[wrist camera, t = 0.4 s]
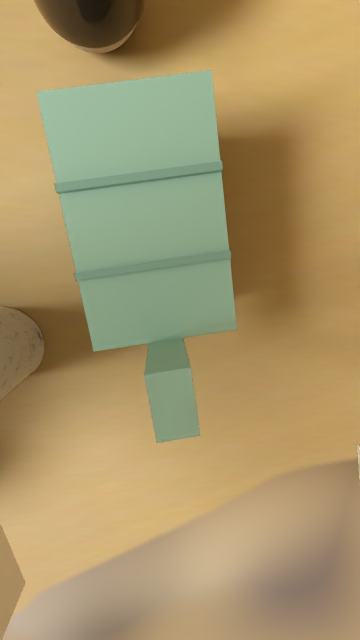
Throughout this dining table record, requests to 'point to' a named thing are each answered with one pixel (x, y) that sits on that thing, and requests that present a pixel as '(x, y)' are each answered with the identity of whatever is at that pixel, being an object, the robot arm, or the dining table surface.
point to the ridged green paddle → (146, 224)
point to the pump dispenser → (92, 21)
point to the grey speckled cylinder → (18, 348)
